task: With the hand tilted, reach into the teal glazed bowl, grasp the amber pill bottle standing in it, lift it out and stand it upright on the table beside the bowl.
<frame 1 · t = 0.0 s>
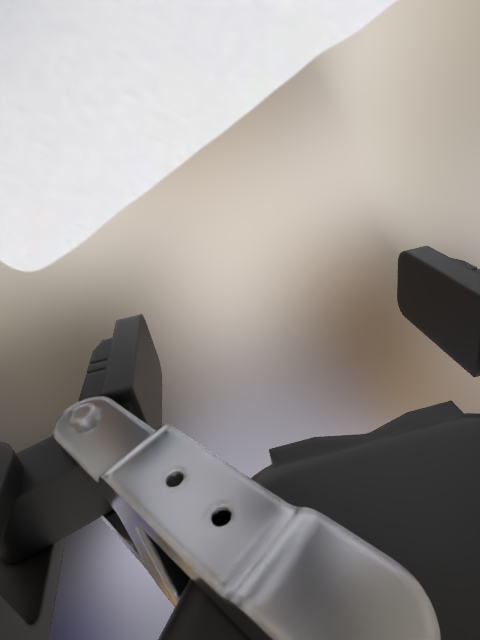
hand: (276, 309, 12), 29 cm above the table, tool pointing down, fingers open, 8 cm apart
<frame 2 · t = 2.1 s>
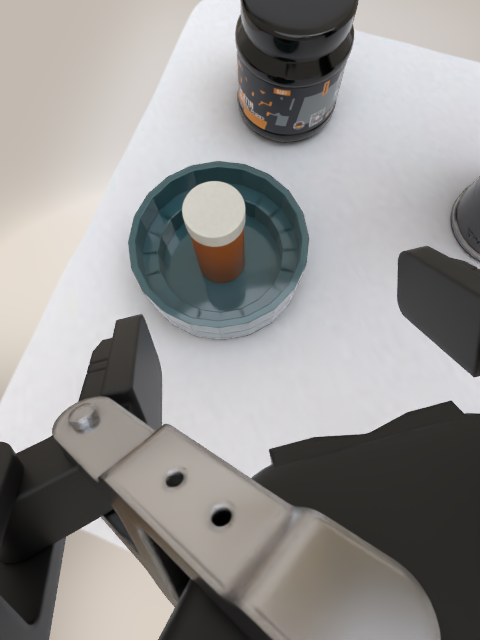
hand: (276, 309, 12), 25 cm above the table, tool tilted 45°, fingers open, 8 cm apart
bowl: (222, 264, 39), on the table
pill bottle: (221, 262, 38), point 1 cm above the table, touching bowl
supplement container: (285, 107, 43), on the table
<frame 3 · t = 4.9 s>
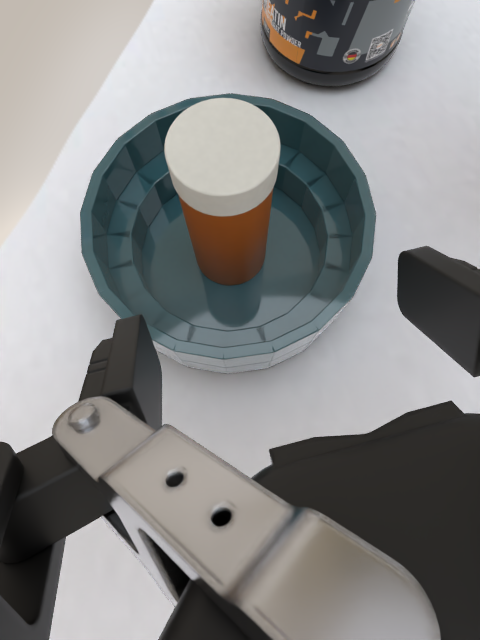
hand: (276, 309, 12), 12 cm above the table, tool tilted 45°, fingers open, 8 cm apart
bowl: (230, 257, 26), on the table
pill bottle: (230, 253, 25), point 1 cm above the table, touching bowl
supplement container: (326, 42, 31), on the table
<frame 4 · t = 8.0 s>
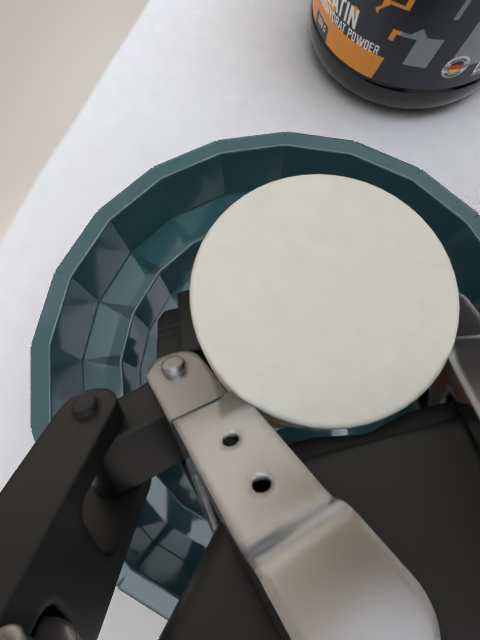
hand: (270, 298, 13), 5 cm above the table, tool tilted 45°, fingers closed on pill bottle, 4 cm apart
bowl: (275, 374, 17), on the table
pill bottle: (276, 372, 16), point 1 cm above the table, touching bowl, gripper
supplement container: (399, 45, 22), on the table
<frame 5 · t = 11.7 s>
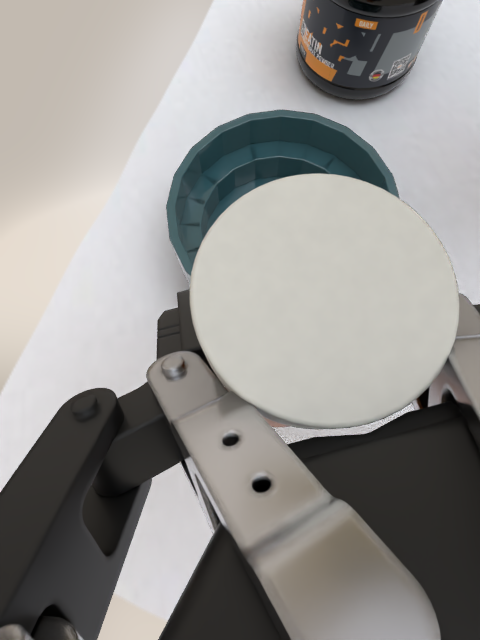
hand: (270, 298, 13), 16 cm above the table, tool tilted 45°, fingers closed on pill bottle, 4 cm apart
bowl: (277, 244, 31), on the table
pill bottle: (276, 372, 16), point 12 cm above the table, touching gripper
supplement container: (351, 60, 36), on the table
when the fingers open (4 cm above the table, at t = 15.9 s): pill bottle stays where it is, on the table.
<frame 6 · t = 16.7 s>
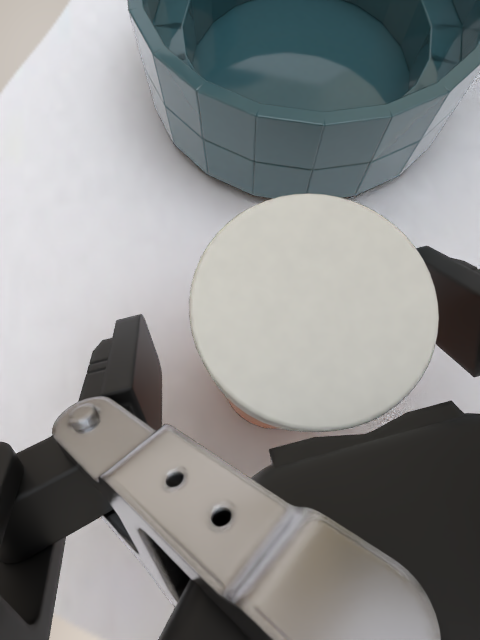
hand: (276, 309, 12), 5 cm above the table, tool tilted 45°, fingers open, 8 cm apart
bowl: (297, 82, 21), on the table
pill bottle: (273, 375, 17), on the table
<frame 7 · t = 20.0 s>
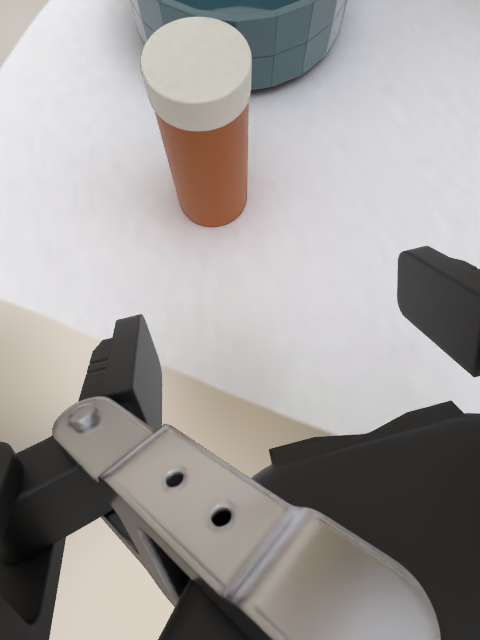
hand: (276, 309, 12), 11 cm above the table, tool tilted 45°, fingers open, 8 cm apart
bowl: (238, 17, 30), on the table
pill bottle: (213, 197, 26), on the table
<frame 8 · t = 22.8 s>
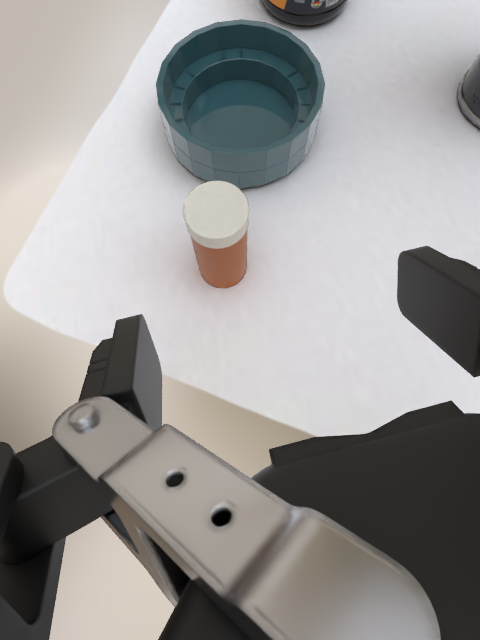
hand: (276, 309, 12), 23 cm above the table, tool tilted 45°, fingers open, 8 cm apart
bowl: (240, 127, 41), on the table
pill bottle: (223, 266, 37), on the table
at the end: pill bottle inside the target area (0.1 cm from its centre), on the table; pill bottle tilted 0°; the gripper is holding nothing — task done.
